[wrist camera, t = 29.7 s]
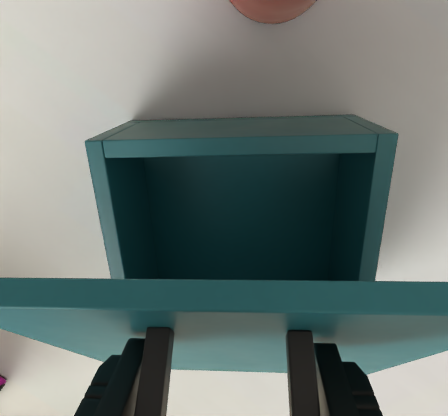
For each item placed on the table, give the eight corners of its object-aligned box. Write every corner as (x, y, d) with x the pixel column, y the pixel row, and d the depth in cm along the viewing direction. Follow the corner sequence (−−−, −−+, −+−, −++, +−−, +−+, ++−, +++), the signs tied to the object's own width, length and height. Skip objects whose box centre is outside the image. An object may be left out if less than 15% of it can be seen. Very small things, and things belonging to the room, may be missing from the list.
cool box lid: (-56, 276, 9) (-193, 563, 6) (545, 281, 8) (713, 637, 5) (124, 354, 21) (106, 459, 19) (363, 360, 20) (381, 473, 17)
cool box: (129, 120, 23) (83, 140, 16) (354, 114, 22) (398, 133, 15) (153, 290, 28) (125, 355, 22) (335, 292, 27) (361, 361, 20)
